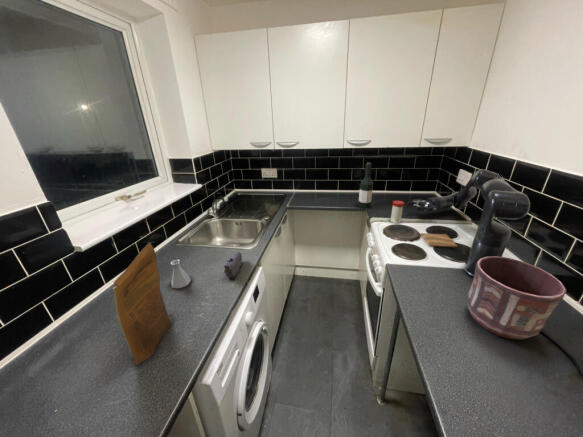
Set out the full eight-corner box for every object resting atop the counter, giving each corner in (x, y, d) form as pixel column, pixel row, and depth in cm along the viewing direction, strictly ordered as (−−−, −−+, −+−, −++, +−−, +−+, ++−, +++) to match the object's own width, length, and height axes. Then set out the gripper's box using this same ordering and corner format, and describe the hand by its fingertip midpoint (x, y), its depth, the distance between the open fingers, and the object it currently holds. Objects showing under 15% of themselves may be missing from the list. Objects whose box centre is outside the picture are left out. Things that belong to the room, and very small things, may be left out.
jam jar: (401, 223, 133) (404, 204, 128) (391, 223, 134) (394, 204, 129) (399, 219, 138) (402, 201, 133) (389, 219, 139) (392, 201, 134)
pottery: (454, 323, 69) (470, 274, 62) (467, 293, 80) (482, 249, 73) (536, 363, 58) (569, 309, 50) (538, 321, 69) (565, 272, 61)
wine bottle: (369, 204, 162) (373, 161, 150) (371, 208, 155) (377, 164, 142) (357, 204, 163) (360, 161, 151) (359, 208, 155) (363, 164, 143)
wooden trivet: (457, 247, 107) (458, 246, 107) (429, 246, 109) (430, 245, 109) (446, 235, 118) (446, 234, 117) (421, 234, 120) (421, 233, 119)
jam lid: (405, 207, 128) (405, 204, 128) (393, 206, 129) (394, 203, 129) (402, 203, 134) (402, 200, 133) (391, 203, 135) (391, 200, 134)
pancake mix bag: (183, 312, 77) (161, 240, 65) (150, 370, 59) (111, 285, 48) (163, 313, 77) (138, 240, 66) (124, 370, 60) (80, 285, 48)
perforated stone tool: (235, 259, 105) (233, 246, 102) (246, 260, 104) (245, 247, 101) (222, 281, 91) (219, 266, 88) (234, 282, 90) (232, 267, 87)
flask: (169, 290, 87) (162, 269, 83) (173, 279, 94) (166, 258, 89) (189, 286, 89) (184, 265, 85) (192, 275, 95) (186, 255, 91)
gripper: (428, 193, 142) (405, 196, 139) (447, 201, 130) (423, 204, 127) (425, 205, 146) (403, 208, 142) (444, 213, 133) (420, 217, 130)
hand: (412, 206), depth 134 cm, fingers open, 8 cm apart
